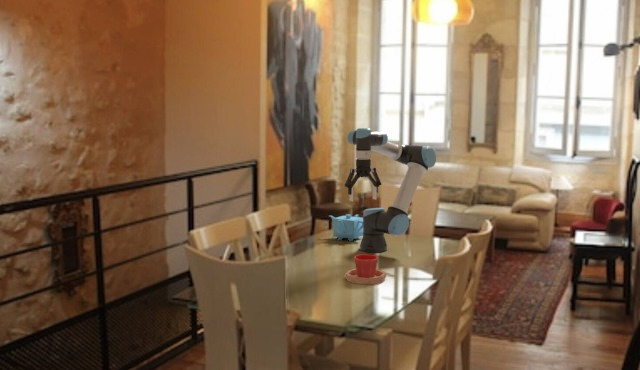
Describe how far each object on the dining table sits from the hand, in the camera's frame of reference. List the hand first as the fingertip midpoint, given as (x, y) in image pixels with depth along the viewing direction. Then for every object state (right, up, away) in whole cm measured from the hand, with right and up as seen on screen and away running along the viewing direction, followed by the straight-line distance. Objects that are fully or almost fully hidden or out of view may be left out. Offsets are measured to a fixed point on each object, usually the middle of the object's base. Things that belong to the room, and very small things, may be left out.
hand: (363, 200), depth 348 cm
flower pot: (-1, -35, -31) cm, 47 cm away
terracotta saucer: (-1, -36, -31) cm, 48 cm away
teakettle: (-6, -25, +58) cm, 64 cm away
